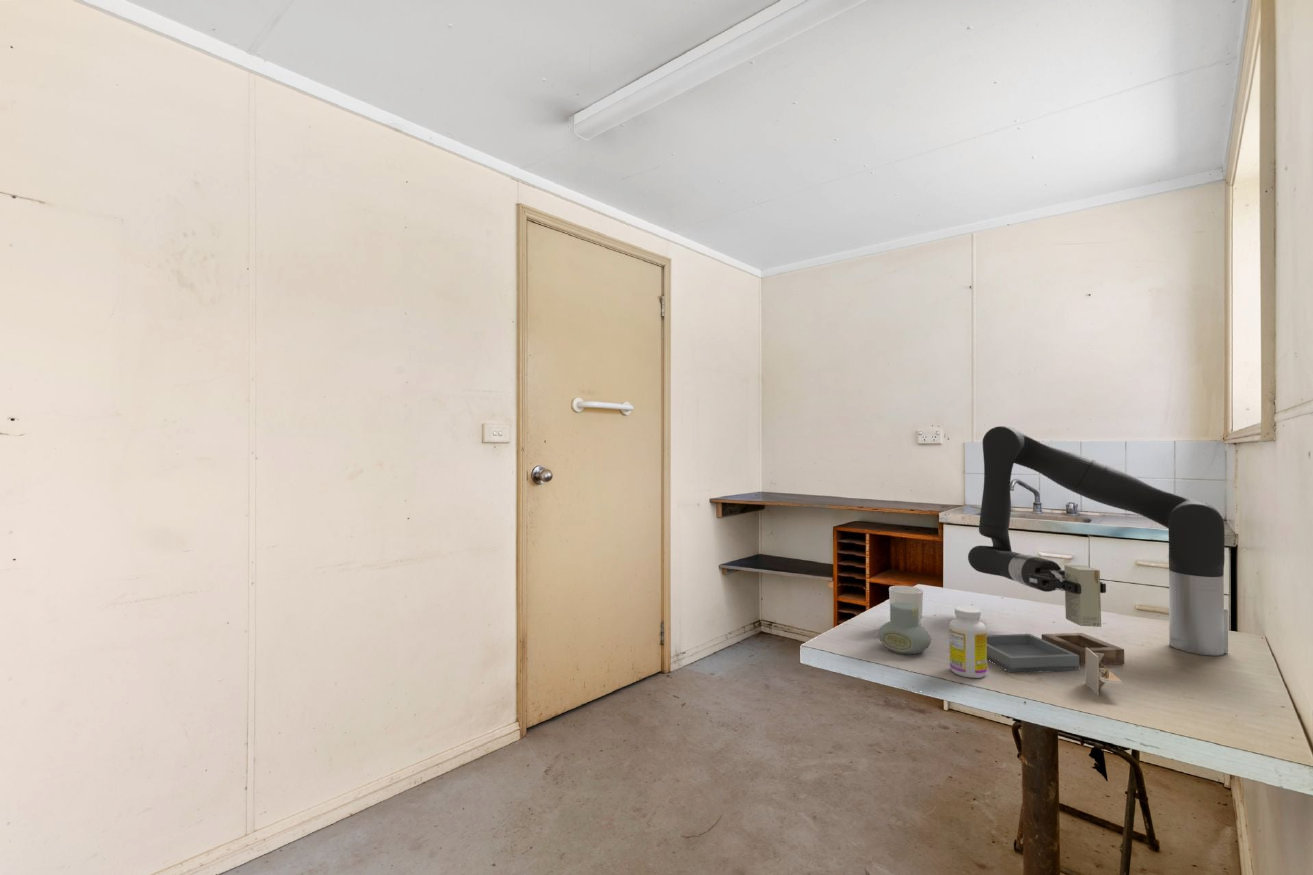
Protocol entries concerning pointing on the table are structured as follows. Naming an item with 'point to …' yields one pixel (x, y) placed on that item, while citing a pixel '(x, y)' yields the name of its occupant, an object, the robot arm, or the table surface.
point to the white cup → (907, 597)
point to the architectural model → (1097, 672)
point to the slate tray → (1029, 654)
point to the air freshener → (904, 630)
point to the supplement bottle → (968, 643)
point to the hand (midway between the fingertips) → (1091, 588)
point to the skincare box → (1083, 596)
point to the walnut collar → (1081, 641)
